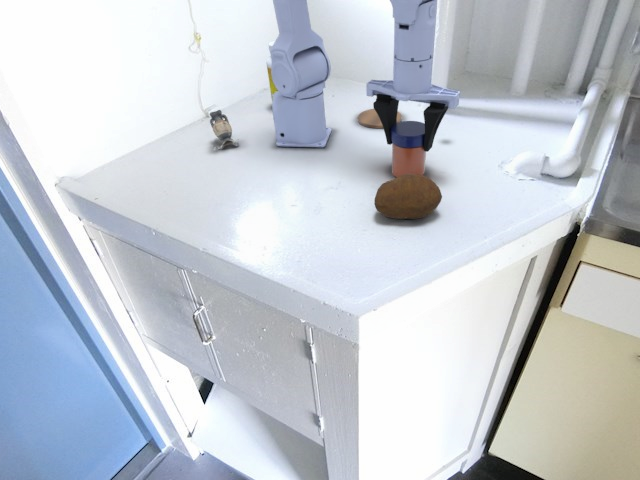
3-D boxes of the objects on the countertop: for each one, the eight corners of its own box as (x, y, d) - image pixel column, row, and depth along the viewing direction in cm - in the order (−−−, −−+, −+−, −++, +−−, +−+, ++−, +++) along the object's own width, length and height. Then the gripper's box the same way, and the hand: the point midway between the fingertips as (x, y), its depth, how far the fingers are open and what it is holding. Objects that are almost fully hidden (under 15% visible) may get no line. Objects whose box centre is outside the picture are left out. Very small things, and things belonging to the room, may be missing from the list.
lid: (389, 147, 74) (389, 135, 73) (392, 131, 79) (392, 120, 77) (427, 148, 74) (428, 136, 72) (428, 132, 78) (429, 121, 77)
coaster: (355, 128, 94) (355, 125, 94) (360, 110, 101) (360, 107, 100) (400, 128, 93) (400, 125, 92) (402, 111, 99) (402, 108, 99)
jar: (390, 179, 78) (391, 138, 73) (393, 163, 82) (393, 123, 77) (424, 180, 78) (427, 139, 73) (425, 164, 82) (427, 124, 77)
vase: (210, 140, 92) (202, 109, 88) (237, 135, 93) (230, 105, 89) (212, 151, 89) (204, 120, 85) (241, 147, 90) (234, 115, 86)
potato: (370, 205, 72) (370, 168, 68) (432, 199, 73) (435, 161, 69) (378, 229, 68) (378, 191, 63) (444, 222, 68) (448, 183, 64)
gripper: (356, 58, 68) (358, 147, 77) (452, 69, 62) (442, 164, 72) (377, 45, 72) (377, 130, 81) (468, 54, 67) (457, 145, 76)
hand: (409, 145), depth 77 cm, fingers closed on lid, 6 cm apart
